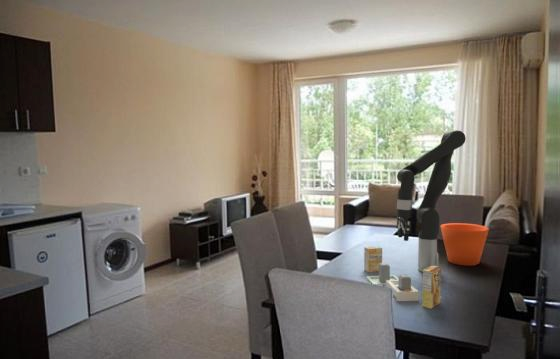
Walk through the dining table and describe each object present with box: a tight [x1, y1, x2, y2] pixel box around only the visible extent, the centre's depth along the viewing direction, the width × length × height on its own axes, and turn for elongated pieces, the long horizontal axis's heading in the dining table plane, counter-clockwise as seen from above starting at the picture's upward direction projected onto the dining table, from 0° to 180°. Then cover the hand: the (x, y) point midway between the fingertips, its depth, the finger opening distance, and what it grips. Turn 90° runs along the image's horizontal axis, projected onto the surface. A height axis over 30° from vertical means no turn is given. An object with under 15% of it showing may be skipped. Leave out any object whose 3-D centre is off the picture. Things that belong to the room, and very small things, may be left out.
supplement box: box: [363, 246, 383, 273], centre depth 214 cm, size 8×5×13 cm, turn 105°
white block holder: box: [385, 274, 419, 302], centre depth 181 cm, size 16×9×10 cm, turn 3°
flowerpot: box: [439, 222, 490, 266], centre depth 232 cm, size 25×25×20 cm
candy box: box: [421, 265, 442, 309], centre depth 168 cm, size 9×4×15 cm, turn 137°
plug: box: [378, 262, 391, 283], centre depth 195 cm, size 4×4×9 cm
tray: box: [366, 274, 398, 287], centre depth 196 cm, size 14×12×2 cm
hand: (403, 238), depth 214 cm, fingers open, 8 cm apart
